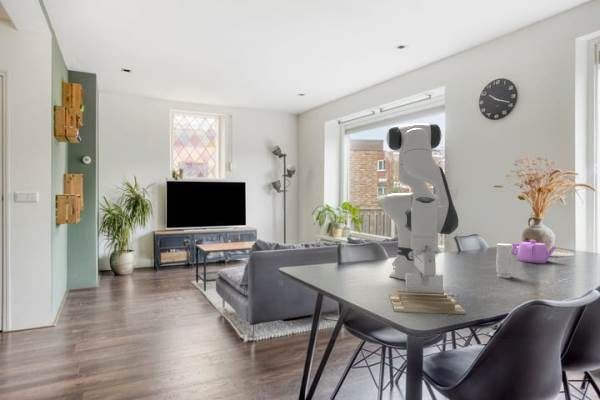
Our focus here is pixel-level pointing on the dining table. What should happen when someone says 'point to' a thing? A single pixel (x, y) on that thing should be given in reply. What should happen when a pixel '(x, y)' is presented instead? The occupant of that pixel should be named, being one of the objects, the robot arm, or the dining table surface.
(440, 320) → the dining table surface
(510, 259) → the candle
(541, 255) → the teakettle
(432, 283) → the blanking panel
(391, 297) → the rack
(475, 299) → the dining table surface
